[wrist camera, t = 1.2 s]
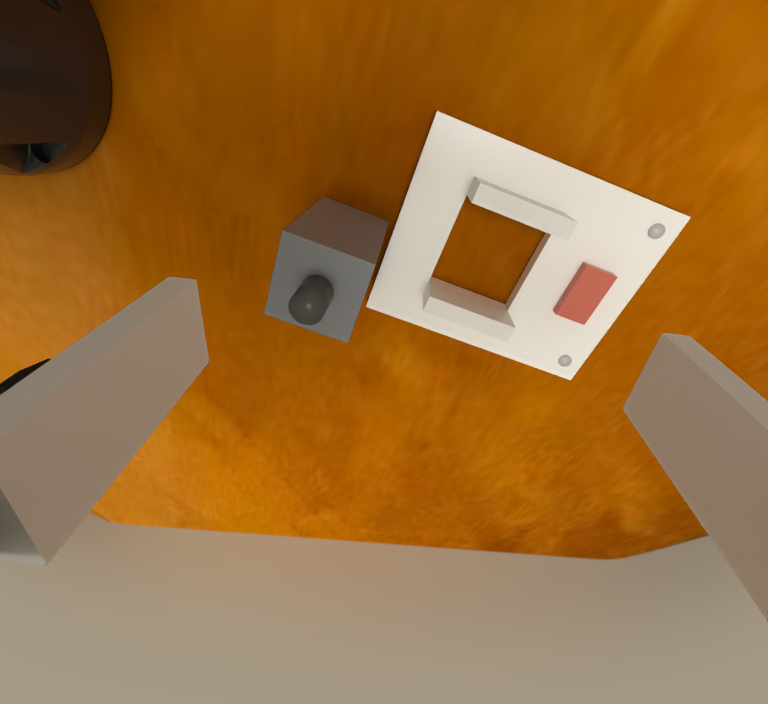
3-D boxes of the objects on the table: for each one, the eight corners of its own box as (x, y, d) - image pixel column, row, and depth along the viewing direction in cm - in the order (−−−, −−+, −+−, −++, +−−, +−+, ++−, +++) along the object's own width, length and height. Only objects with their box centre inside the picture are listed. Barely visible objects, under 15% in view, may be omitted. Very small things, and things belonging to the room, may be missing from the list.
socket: (367, 300, 33) (360, 323, 29) (436, 111, 26) (438, 110, 22) (566, 372, 35) (582, 402, 31) (680, 213, 28) (719, 228, 24)
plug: (307, 259, 31) (248, 333, 21) (323, 196, 29) (266, 242, 18) (367, 282, 32) (340, 365, 21) (389, 221, 29) (370, 281, 19)
